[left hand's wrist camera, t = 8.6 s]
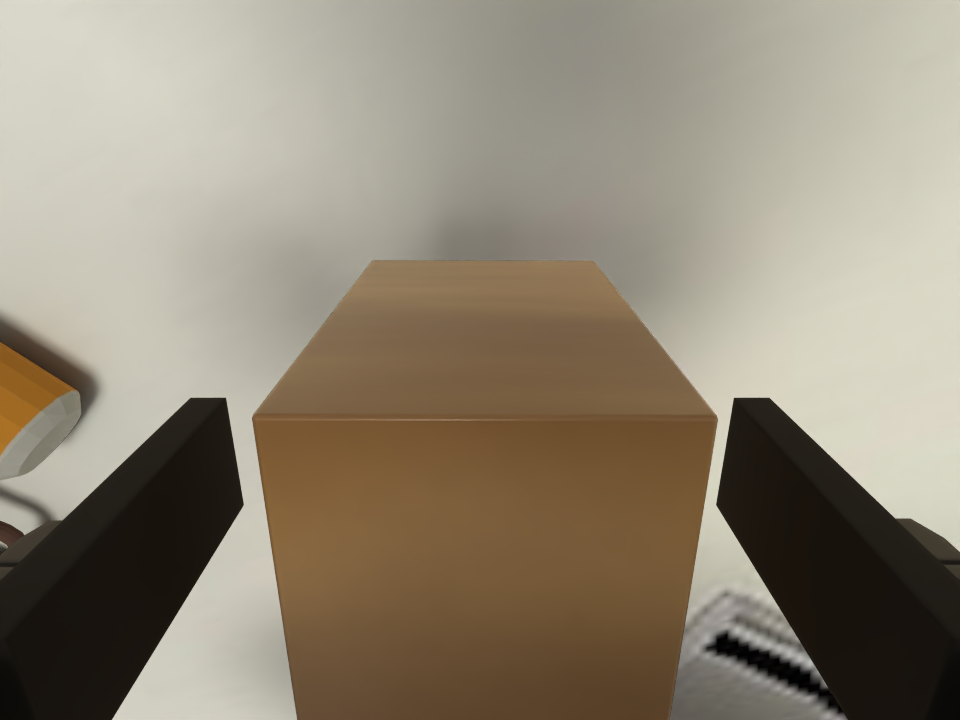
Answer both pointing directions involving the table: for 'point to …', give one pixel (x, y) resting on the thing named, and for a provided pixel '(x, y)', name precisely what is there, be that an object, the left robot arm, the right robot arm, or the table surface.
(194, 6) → the table surface
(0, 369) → the spray gun
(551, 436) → the bar
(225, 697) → the table surface
